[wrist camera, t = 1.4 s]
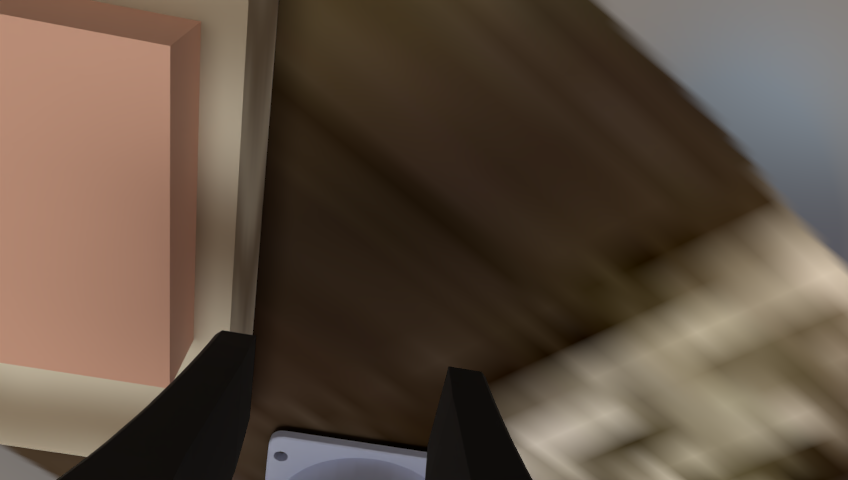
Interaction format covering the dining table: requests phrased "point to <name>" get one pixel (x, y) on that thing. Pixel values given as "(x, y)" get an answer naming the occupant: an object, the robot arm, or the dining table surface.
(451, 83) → the dining table surface
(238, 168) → the deck
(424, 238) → the dining table surface
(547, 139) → the dining table surface
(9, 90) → the tile
